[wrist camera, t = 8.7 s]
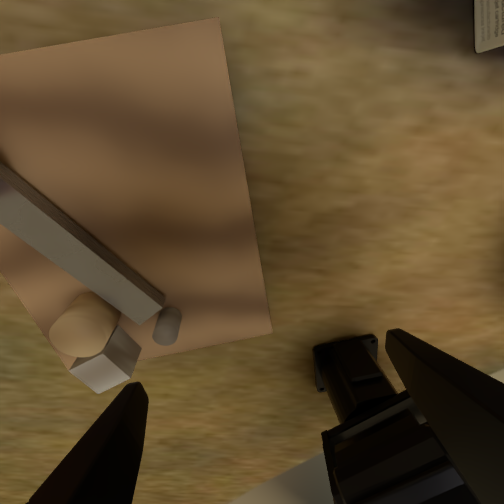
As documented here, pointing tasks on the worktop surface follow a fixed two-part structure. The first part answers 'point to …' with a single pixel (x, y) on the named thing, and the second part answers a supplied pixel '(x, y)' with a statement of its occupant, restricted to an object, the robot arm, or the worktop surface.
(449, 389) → the robot arm
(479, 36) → the ink box
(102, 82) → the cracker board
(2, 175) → the lever
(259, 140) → the worktop surface
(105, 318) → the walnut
